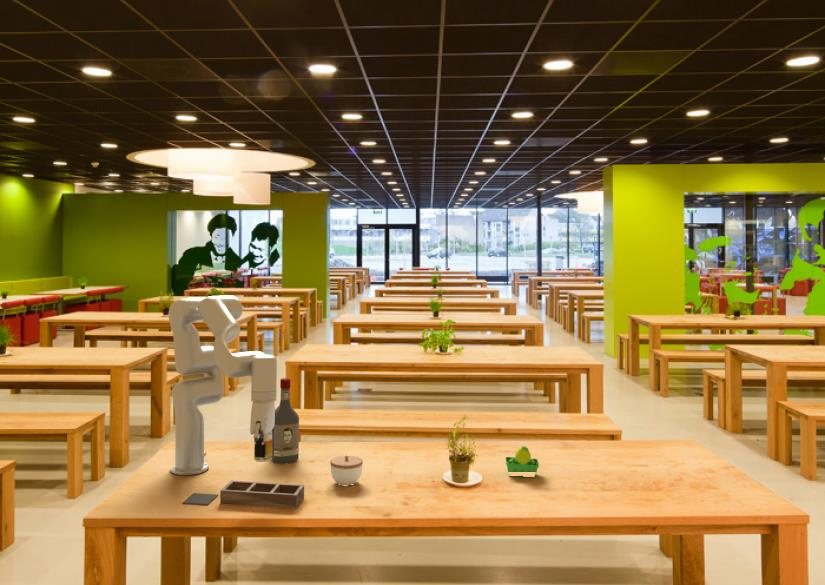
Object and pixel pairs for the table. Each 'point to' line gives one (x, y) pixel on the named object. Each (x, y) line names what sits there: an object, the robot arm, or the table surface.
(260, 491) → the rack
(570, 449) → the table surface
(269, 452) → the supplement bottle
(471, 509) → the table surface
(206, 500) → the mat
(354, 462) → the lidded jar
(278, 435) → the liquor
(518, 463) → the fruit basket
